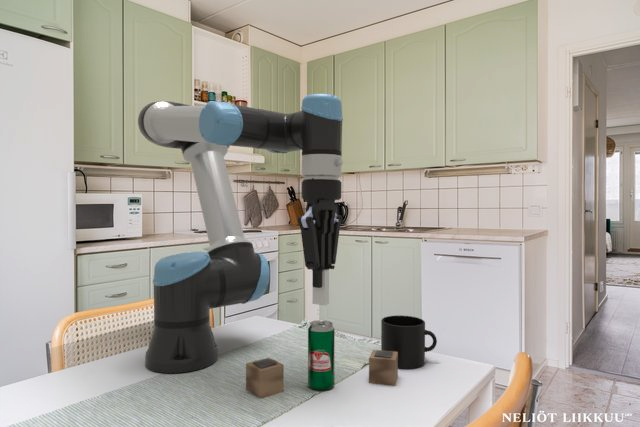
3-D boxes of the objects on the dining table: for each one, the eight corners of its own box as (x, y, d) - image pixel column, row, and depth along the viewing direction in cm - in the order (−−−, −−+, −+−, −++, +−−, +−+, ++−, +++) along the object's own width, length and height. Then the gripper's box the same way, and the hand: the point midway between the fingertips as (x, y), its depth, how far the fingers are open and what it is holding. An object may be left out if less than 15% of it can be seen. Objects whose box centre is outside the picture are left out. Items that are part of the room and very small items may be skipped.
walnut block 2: (368, 383, 84) (369, 356, 84) (372, 374, 89) (373, 348, 89) (395, 386, 83) (395, 359, 83) (397, 376, 88) (397, 350, 88)
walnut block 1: (246, 390, 81) (245, 362, 81) (268, 383, 84) (268, 356, 84) (260, 399, 77) (260, 370, 77) (283, 391, 81) (283, 363, 81)
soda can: (304, 390, 81) (304, 325, 81) (311, 379, 86) (311, 318, 86) (331, 392, 80) (331, 327, 80) (336, 381, 85) (336, 320, 85)
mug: (440, 371, 91) (440, 327, 91) (381, 368, 92) (382, 325, 92) (433, 355, 100) (433, 316, 100) (380, 353, 101) (380, 314, 101)
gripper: (321, 176, 75) (320, 313, 75) (354, 180, 86) (353, 299, 87) (285, 177, 79) (284, 308, 79) (321, 181, 90) (320, 295, 90)
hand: (320, 303), depth 83 cm, fingers closed
